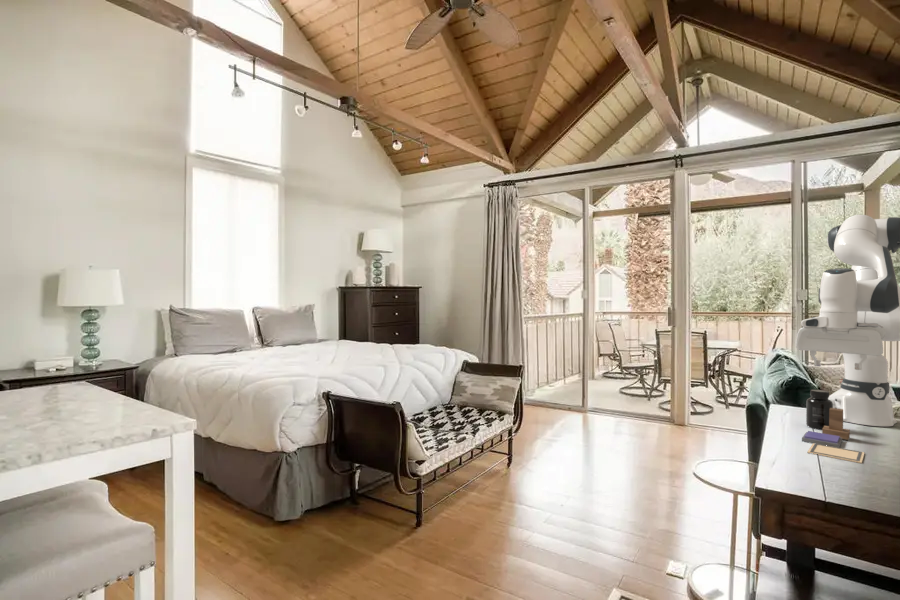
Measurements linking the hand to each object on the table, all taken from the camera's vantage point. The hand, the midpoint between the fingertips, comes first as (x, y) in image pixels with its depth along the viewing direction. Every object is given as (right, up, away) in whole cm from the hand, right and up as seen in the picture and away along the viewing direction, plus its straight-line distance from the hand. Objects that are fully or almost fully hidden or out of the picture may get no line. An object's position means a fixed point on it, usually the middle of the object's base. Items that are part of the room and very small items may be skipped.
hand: (837, 367), depth 140 cm
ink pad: (-8, -21, -4) cm, 23 cm away
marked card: (-12, -21, -14) cm, 28 cm away
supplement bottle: (+4, -21, +11) cm, 24 cm away
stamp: (0, -21, 0) cm, 21 cm away
